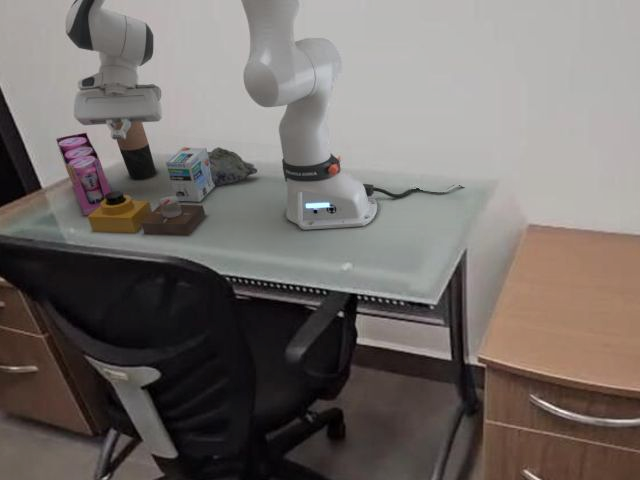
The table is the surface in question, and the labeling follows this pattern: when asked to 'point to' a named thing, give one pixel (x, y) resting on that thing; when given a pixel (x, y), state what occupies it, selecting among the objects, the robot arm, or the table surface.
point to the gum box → (84, 171)
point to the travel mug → (136, 152)
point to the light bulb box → (190, 174)
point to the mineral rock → (228, 167)
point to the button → (115, 198)
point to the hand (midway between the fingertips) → (118, 138)
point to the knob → (170, 207)
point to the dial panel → (174, 221)
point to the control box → (120, 216)
